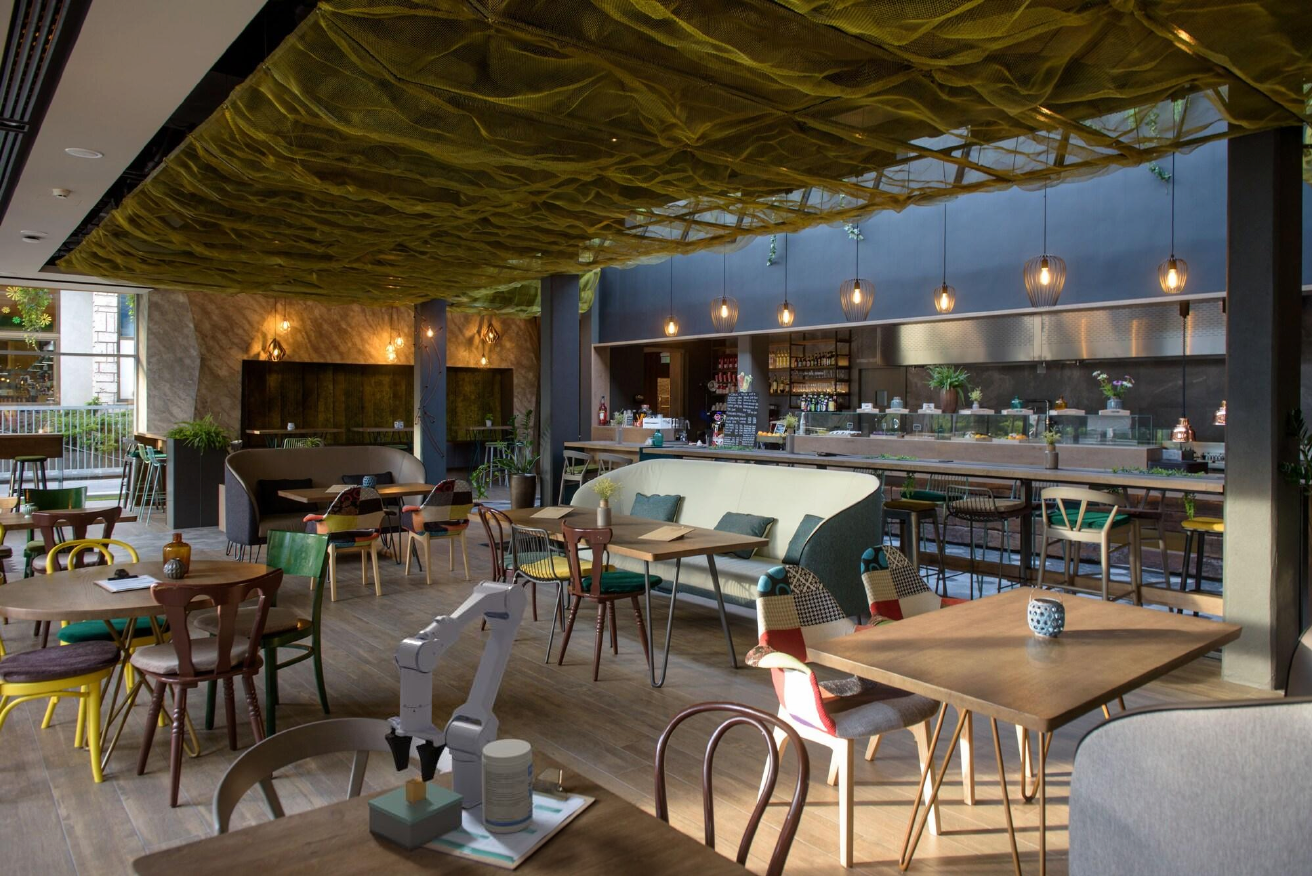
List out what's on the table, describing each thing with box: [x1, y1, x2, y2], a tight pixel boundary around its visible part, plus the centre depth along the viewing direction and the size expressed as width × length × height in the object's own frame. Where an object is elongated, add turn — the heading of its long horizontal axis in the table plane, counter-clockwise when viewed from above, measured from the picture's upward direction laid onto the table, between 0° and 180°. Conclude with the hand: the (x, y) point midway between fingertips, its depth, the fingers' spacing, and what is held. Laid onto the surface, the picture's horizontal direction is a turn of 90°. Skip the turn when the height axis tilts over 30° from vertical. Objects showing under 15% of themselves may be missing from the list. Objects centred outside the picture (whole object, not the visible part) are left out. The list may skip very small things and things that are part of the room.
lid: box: [367, 775, 464, 825], centre depth 162 cm, size 12×12×5 cm
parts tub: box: [368, 801, 463, 853], centre depth 163 cm, size 12×12×5 cm
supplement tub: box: [481, 738, 534, 834], centre depth 165 cm, size 10×10×15 cm
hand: (414, 774), depth 162 cm, fingers open, 7 cm apart
